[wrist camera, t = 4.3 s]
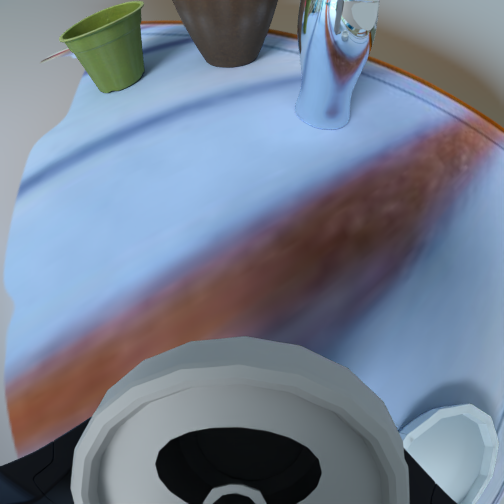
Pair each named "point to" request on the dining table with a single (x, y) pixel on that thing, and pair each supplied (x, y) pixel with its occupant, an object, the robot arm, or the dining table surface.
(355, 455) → the can
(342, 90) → the beer glass
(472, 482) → the dish
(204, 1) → the plant pot
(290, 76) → the dining table surface
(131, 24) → the plant pot
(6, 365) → the dining table surface
